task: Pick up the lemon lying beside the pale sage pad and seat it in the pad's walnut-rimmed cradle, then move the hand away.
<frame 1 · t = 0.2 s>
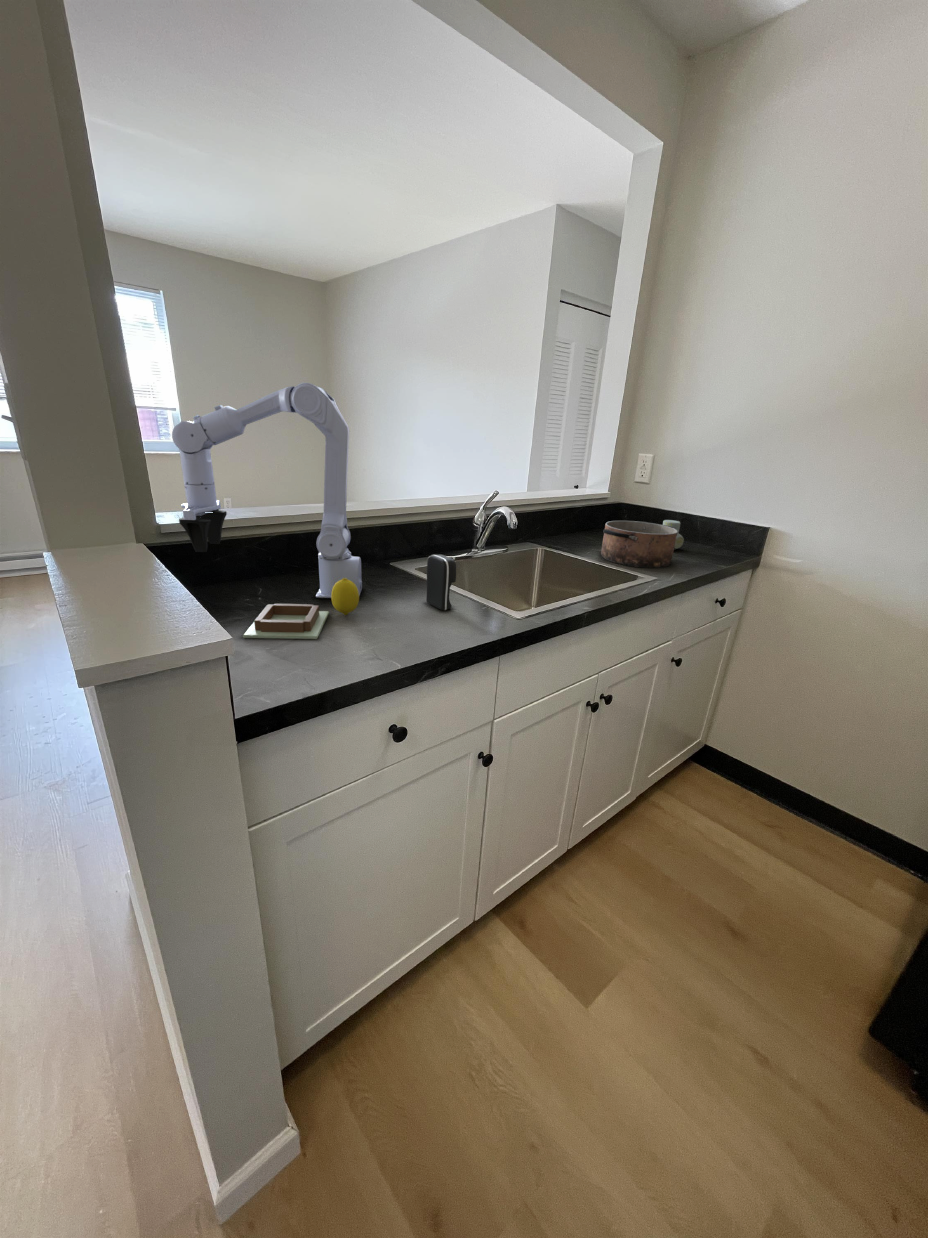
hand: (208, 547, 108), 10 cm above the worktop, tool pointing down, fingers open, 7 cm apart
lemon: (345, 616, 103), on the worktop
cradle pad: (289, 625, 96), on the worktop
cooking pot: (634, 559, 164), on the worktop
battery charger: (440, 606, 111), on the worktop
air freshener: (666, 548, 184), on the worktop
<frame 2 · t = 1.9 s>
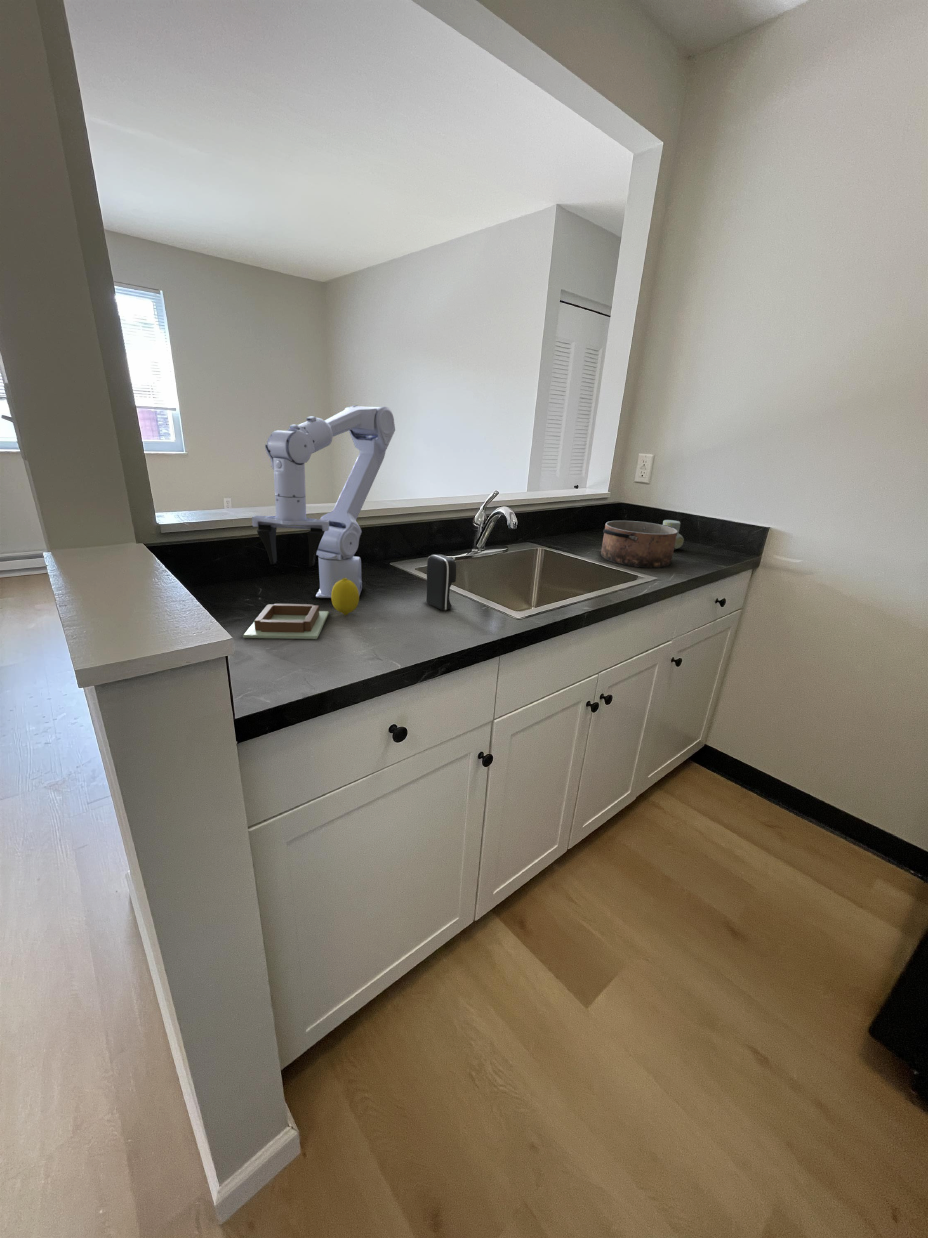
hand: (292, 563, 101), 10 cm above the worktop, tool pointing down, fingers open, 7 cm apart
nothing on the worktop moved.
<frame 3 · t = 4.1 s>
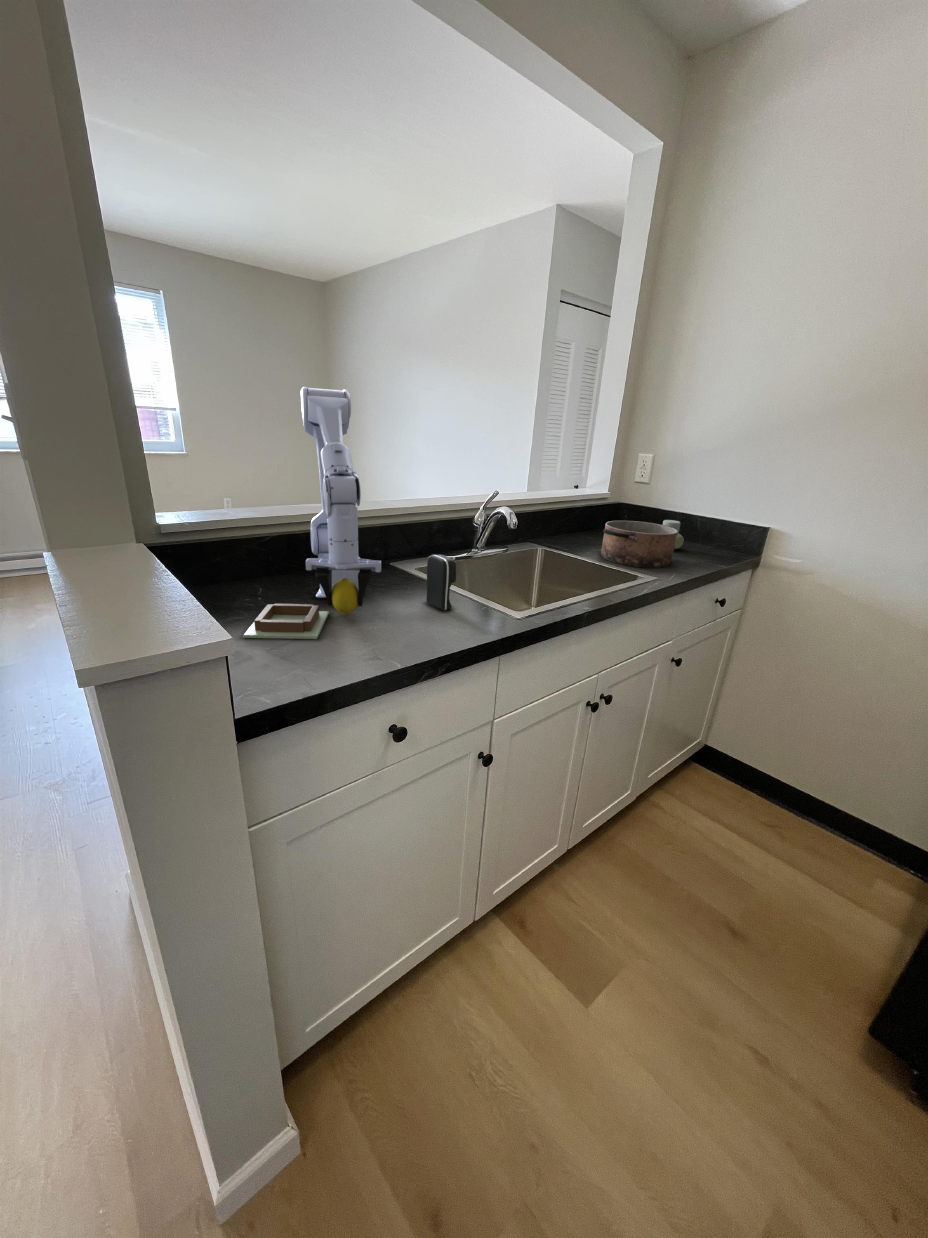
hand: (345, 604, 102), 2 cm above the worktop, tool pointing down, fingers closed on lemon, 5 cm apart
lemon: (345, 616, 103), on the worktop, touching gripper
everything else where it was.
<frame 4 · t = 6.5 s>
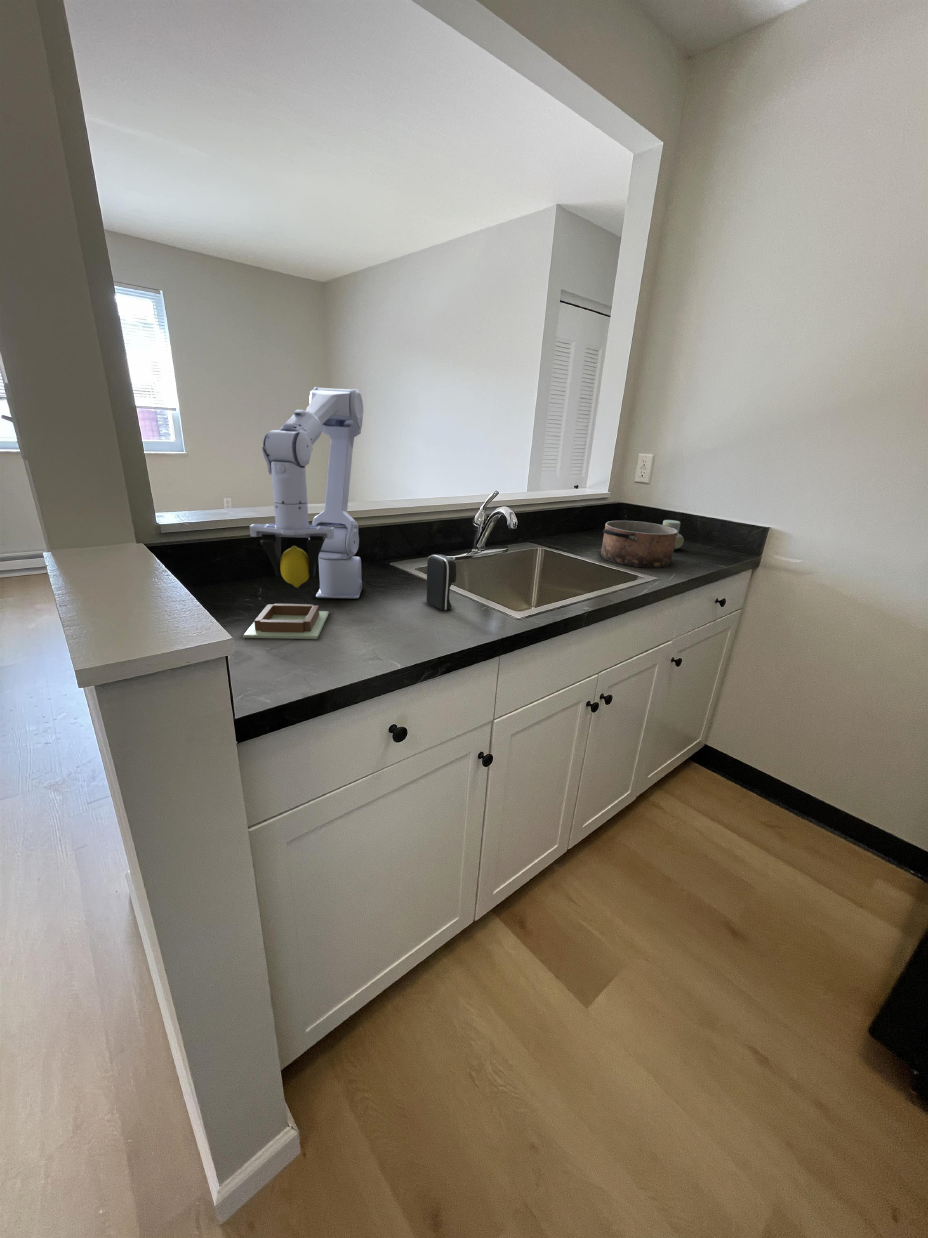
hand: (295, 575, 93), 10 cm above the worktop, tool pointing down, fingers closed on lemon, 5 cm apart
lemon: (296, 588, 94), point 7 cm above the worktop, touching gripper
everything else where it was.
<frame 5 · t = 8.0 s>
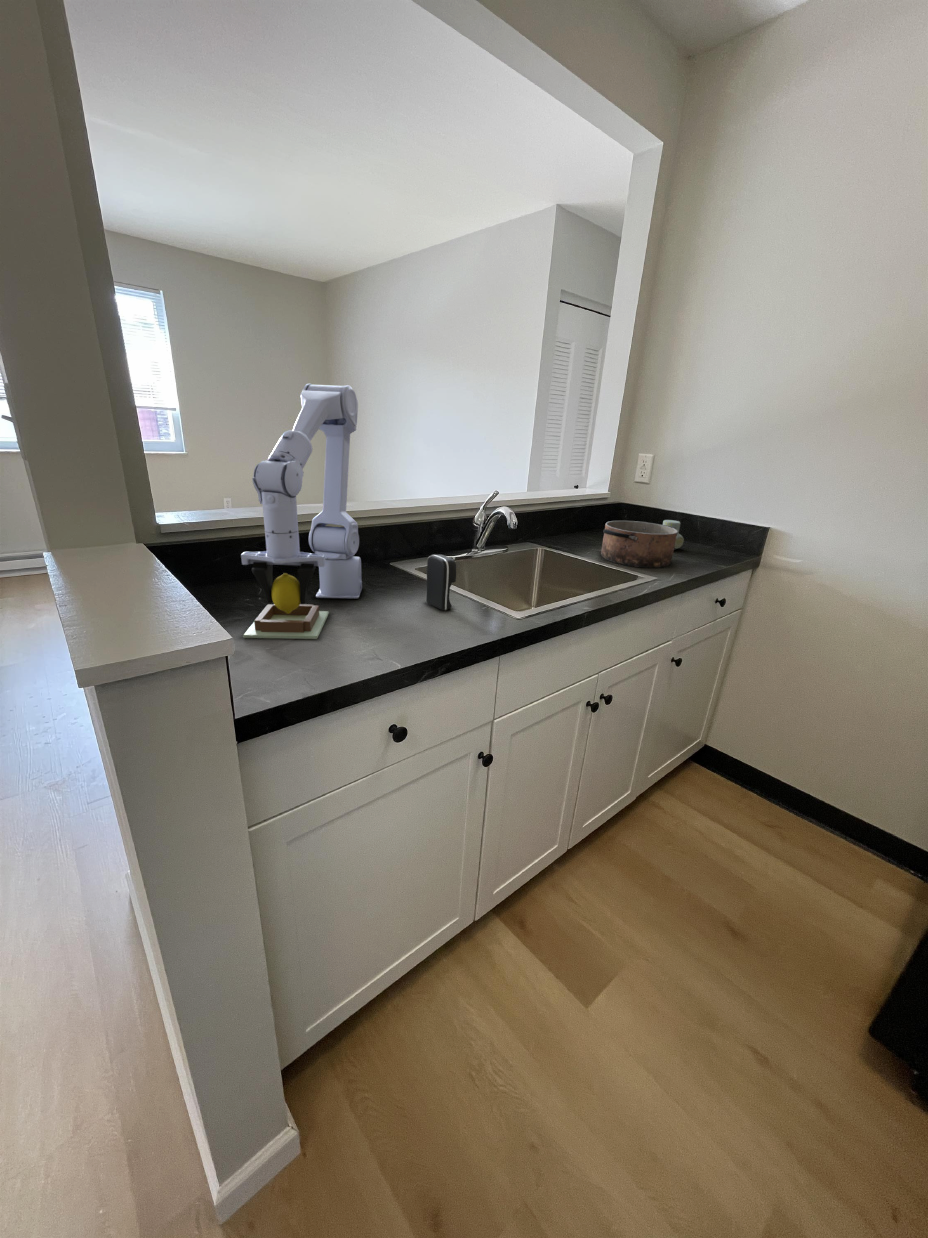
hand: (287, 601, 94), 5 cm above the worktop, tool pointing down, fingers closed on lemon, 5 cm apart
lemon: (288, 614, 95), point 2 cm above the worktop, touching gripper
everything else where it was.
when the fingers open (3 cm above the worktop, at t = 9.1 s): lemon stays where it is, resting on cradle pad.
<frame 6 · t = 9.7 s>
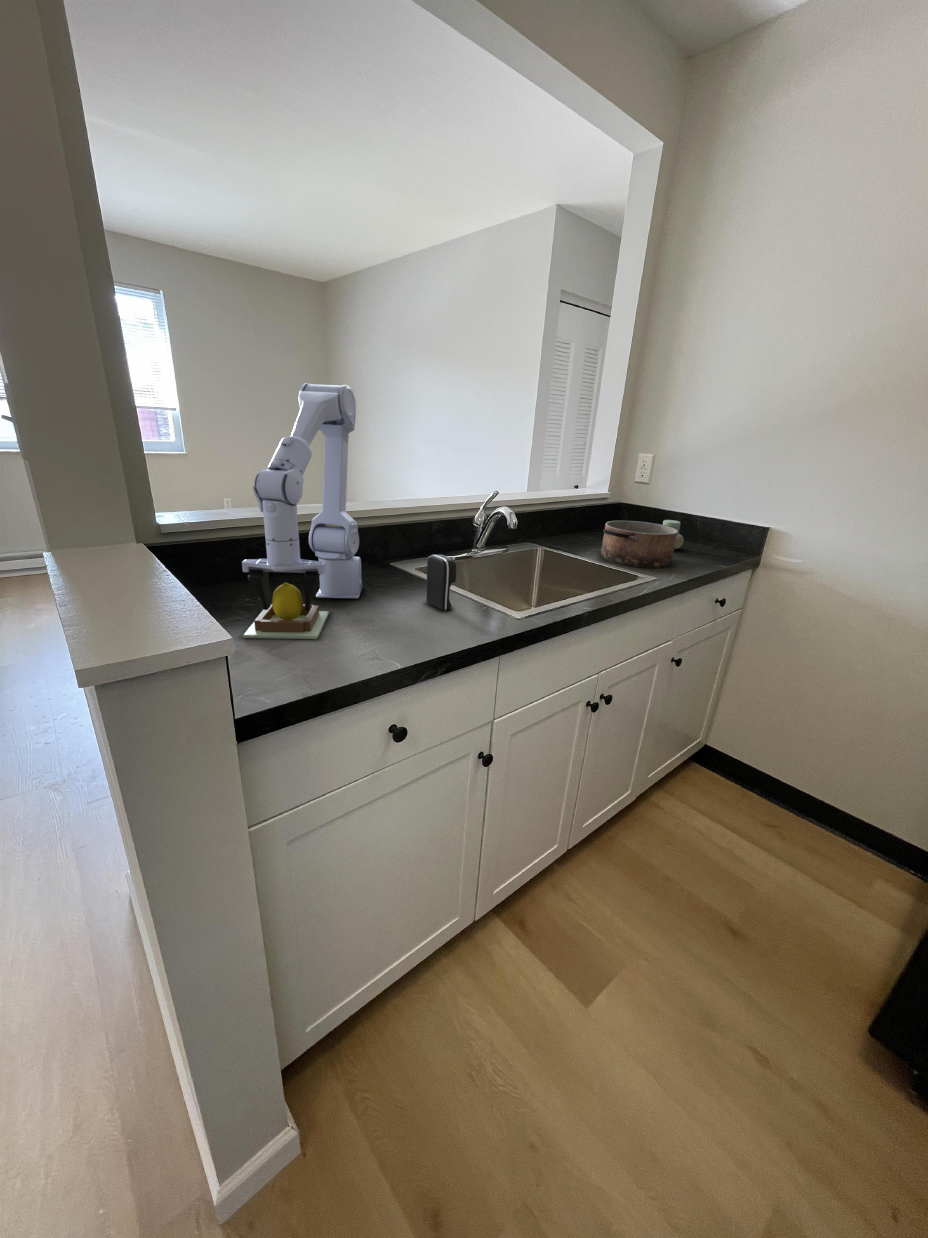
hand: (287, 608, 95), 3 cm above the worktop, tool pointing down, fingers open, 7 cm apart
lemon: (289, 623, 96), resting on cradle pad
everything else where it was.
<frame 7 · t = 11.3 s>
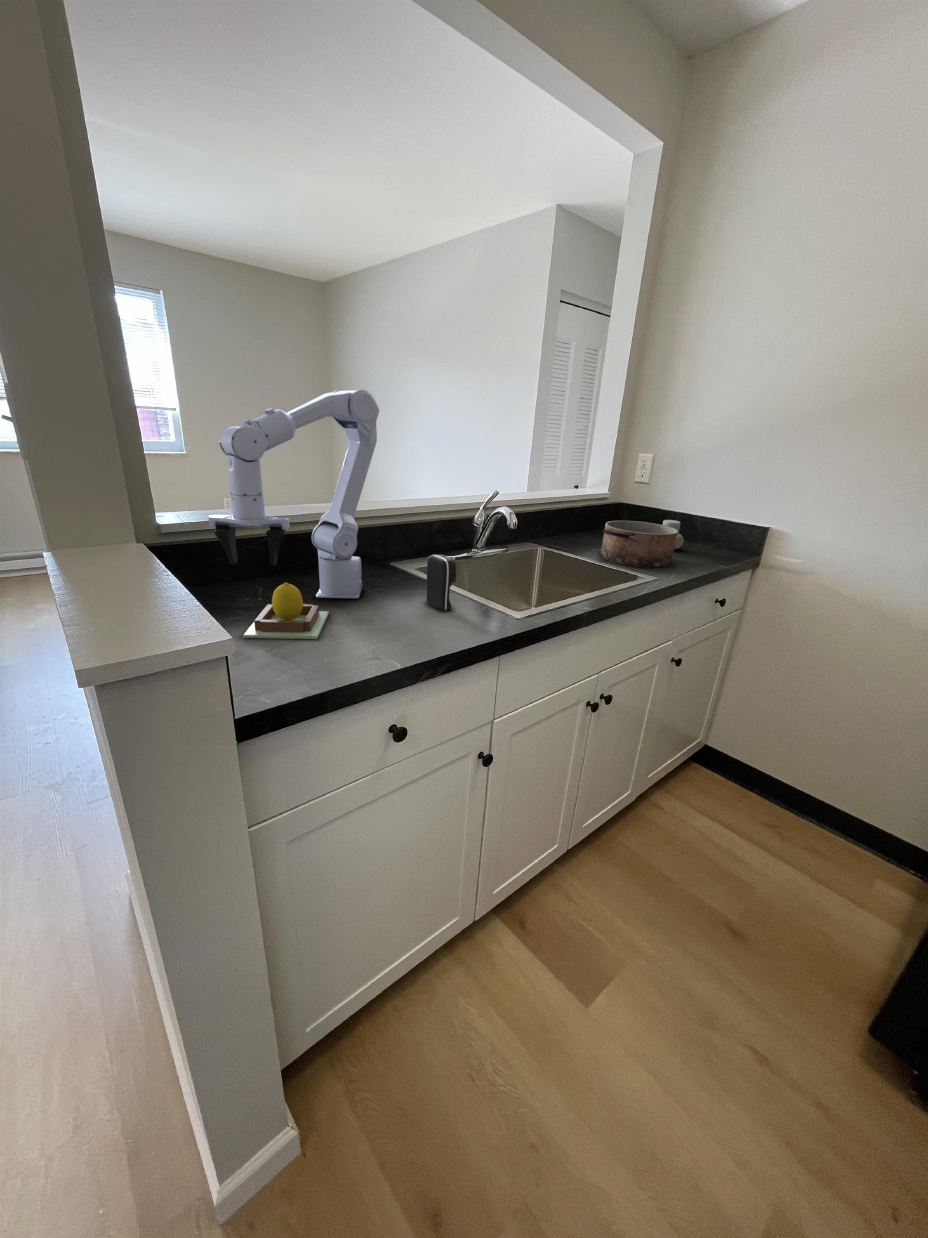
hand: (254, 563, 99), 10 cm above the worktop, tool pointing down, fingers open, 7 cm apart
nothing on the worktop moved.
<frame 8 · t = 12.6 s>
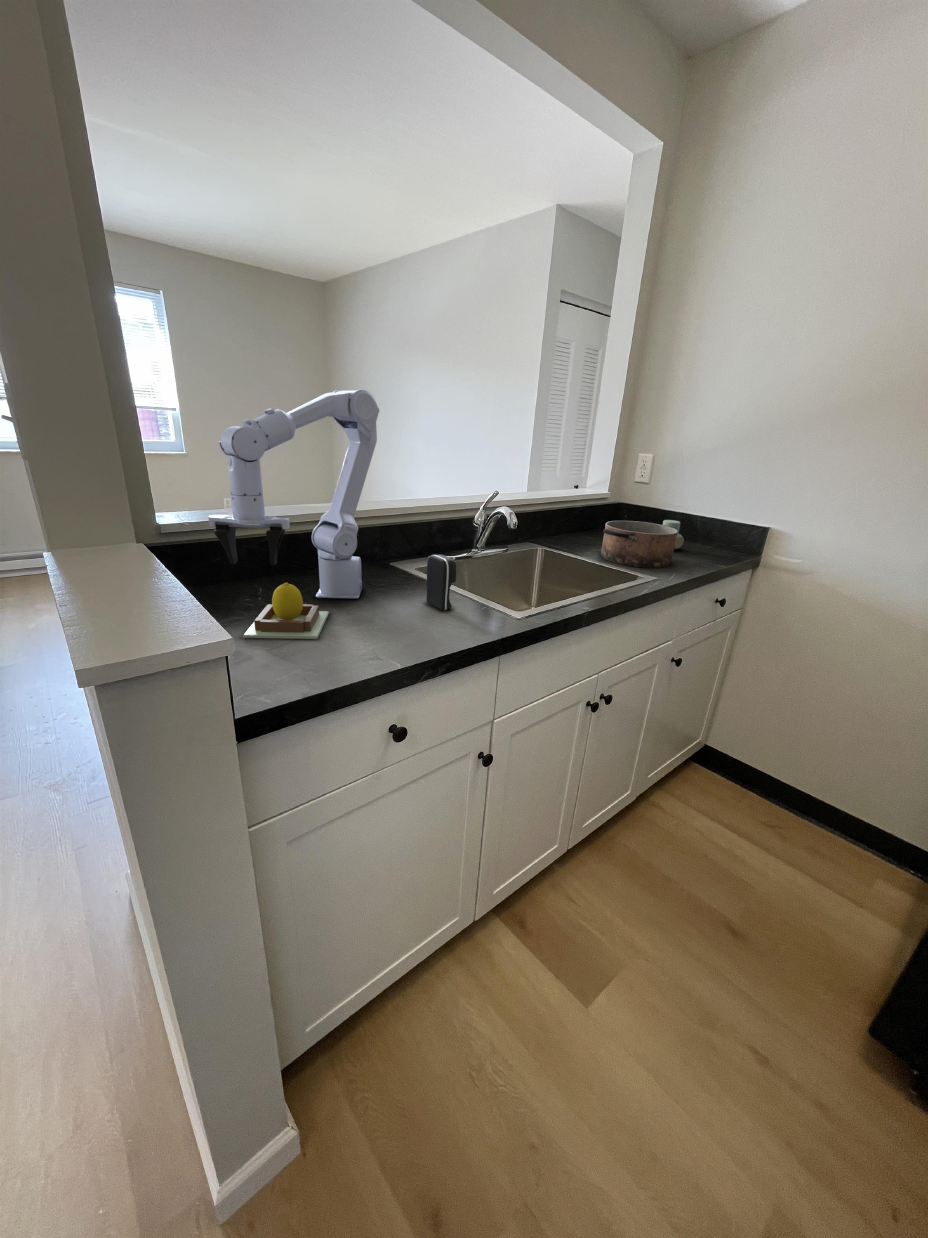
hand: (254, 563, 99), 10 cm above the worktop, tool pointing down, fingers open, 7 cm apart
nothing on the worktop moved.
at the end: lemon 0.0 cm off-centre on the cradle pad, point 0.4 cm above the cradle pad's base; the gripper is holding nothing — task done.
